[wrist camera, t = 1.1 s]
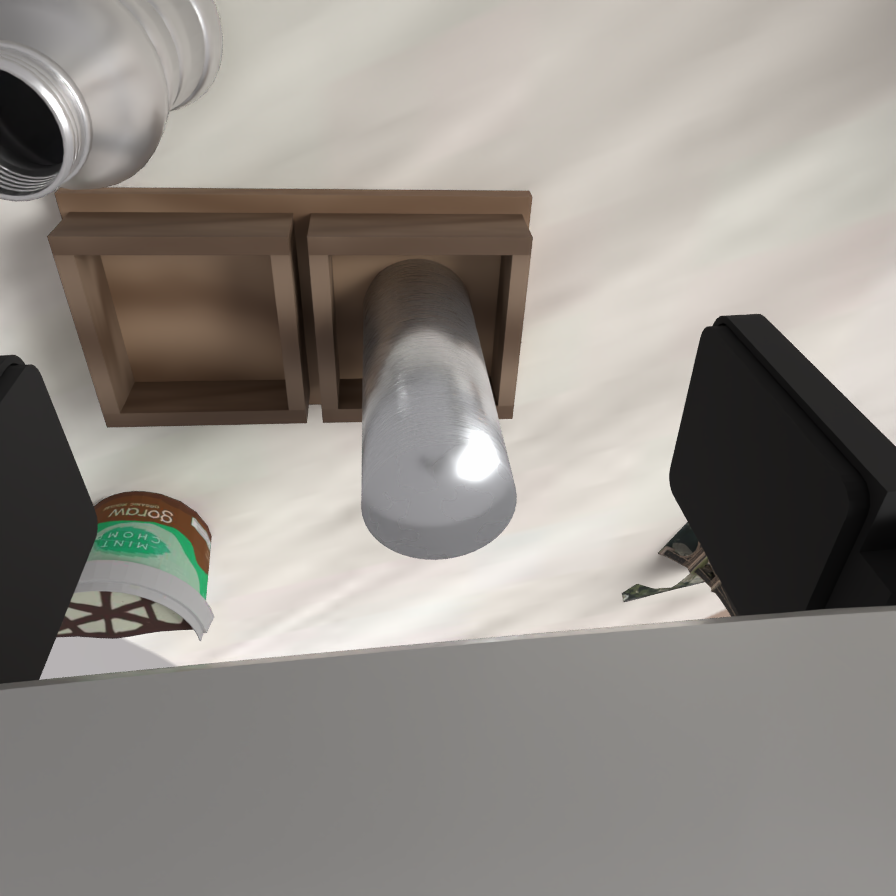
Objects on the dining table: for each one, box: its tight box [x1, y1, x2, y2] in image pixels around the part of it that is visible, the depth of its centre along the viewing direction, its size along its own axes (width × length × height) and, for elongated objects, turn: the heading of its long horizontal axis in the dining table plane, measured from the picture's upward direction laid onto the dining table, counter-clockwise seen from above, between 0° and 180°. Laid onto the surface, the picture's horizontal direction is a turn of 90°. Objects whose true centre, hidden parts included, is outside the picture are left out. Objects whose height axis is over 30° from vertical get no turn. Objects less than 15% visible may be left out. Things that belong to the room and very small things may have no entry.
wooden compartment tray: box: [47, 188, 533, 427], centre depth 43 cm, size 14×26×4 cm, turn 88°
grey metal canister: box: [361, 259, 517, 560], centre depth 38 cm, size 7×7×18 cm
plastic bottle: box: [0, 0, 223, 201], centre depth 27 cm, size 6×7×20 cm
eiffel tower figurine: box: [622, 522, 739, 617], centre depth 57 cm, size 15×10×13 cm
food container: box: [56, 491, 214, 641], centre depth 50 cm, size 12×6×10 cm, turn 89°
